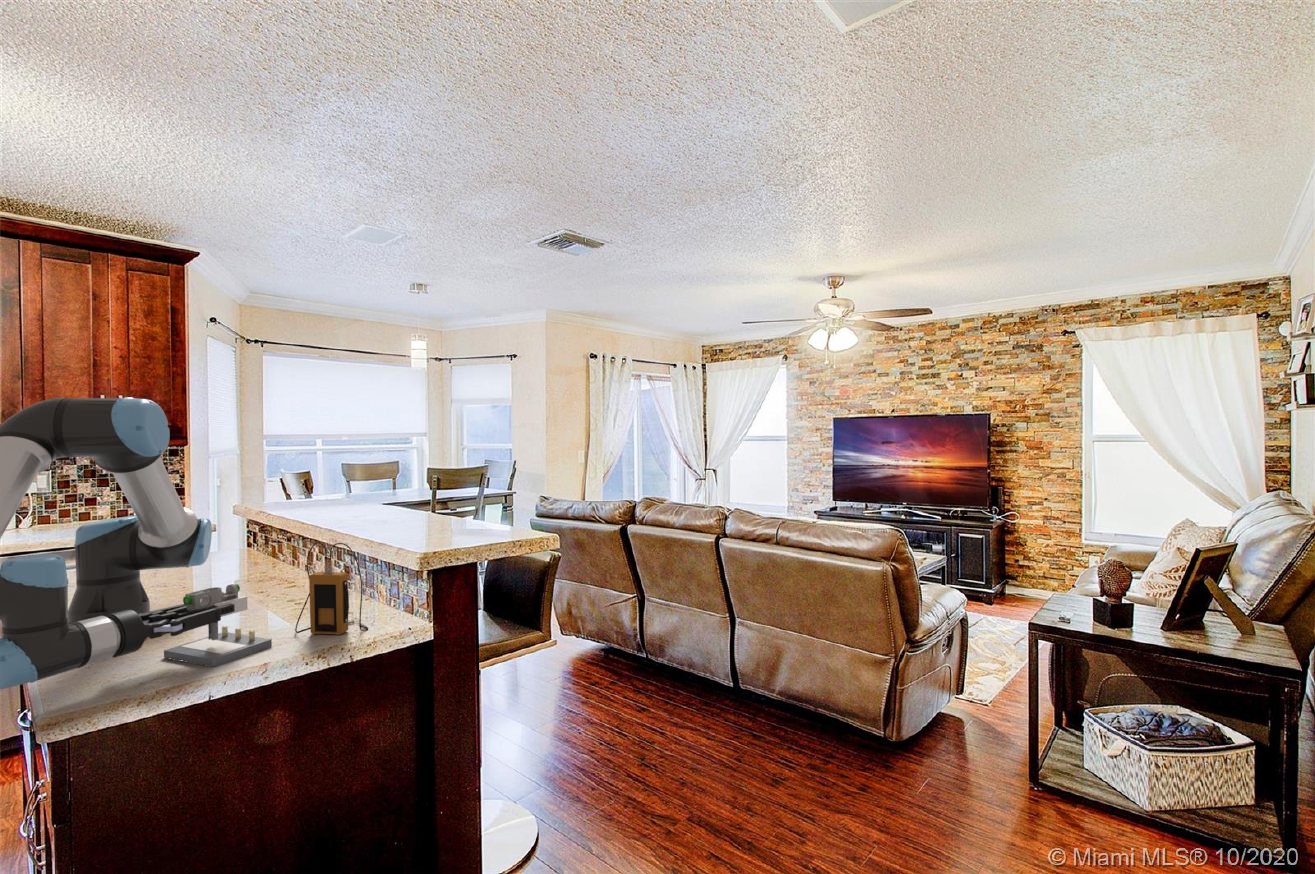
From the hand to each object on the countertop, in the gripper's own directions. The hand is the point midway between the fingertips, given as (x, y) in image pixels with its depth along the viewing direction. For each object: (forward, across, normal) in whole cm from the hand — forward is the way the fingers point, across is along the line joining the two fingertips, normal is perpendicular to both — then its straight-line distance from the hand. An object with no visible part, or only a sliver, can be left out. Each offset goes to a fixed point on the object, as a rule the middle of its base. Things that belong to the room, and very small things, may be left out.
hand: (239, 601), depth 133 cm
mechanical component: (-6, 0, -6) cm, 8 cm away
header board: (-4, 0, -9) cm, 10 cm away
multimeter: (+16, +10, -9) cm, 21 cm away
